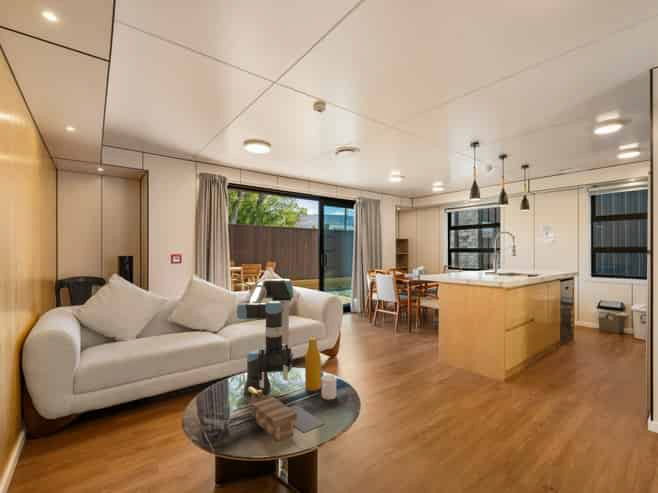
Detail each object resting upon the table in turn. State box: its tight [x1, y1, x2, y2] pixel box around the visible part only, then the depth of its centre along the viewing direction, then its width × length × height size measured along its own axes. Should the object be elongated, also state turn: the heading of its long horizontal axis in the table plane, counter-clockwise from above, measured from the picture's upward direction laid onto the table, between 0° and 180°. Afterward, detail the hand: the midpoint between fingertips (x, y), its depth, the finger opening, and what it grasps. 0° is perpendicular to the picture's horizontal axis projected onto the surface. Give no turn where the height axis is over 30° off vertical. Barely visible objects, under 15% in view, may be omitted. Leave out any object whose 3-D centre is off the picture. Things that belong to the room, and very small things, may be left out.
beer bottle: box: [304, 337, 322, 392], centre depth 189 cm, size 9×9×29 cm
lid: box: [253, 396, 297, 428], centre depth 145 cm, size 21×11×4 cm, turn 39°
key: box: [248, 386, 262, 398], centre depth 160 cm, size 11×2×3 cm, turn 39°
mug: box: [320, 374, 337, 401], centre depth 176 cm, size 12×8×10 cm
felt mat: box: [288, 404, 325, 434], centre depth 154 cm, size 24×12×1 cm, turn 39°
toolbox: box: [251, 390, 294, 442], centre depth 148 cm, size 28×8×11 cm, turn 39°
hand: (273, 383), depth 146 cm, fingers open, 11 cm apart
